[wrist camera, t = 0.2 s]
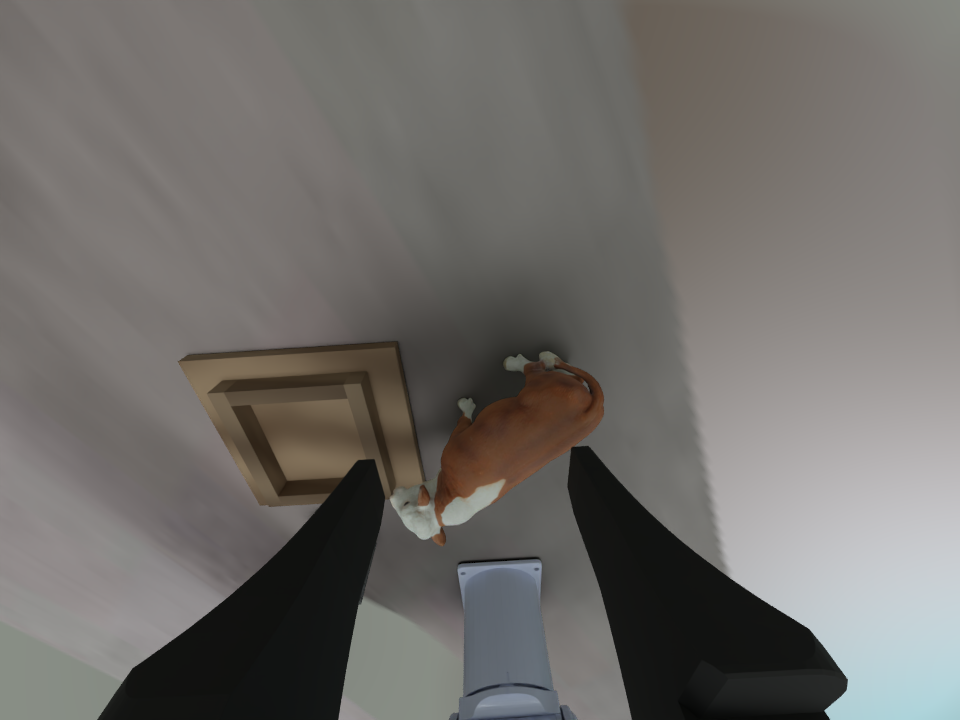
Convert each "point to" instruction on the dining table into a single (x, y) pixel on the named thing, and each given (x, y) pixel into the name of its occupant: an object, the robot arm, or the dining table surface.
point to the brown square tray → (310, 417)
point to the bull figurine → (503, 444)
